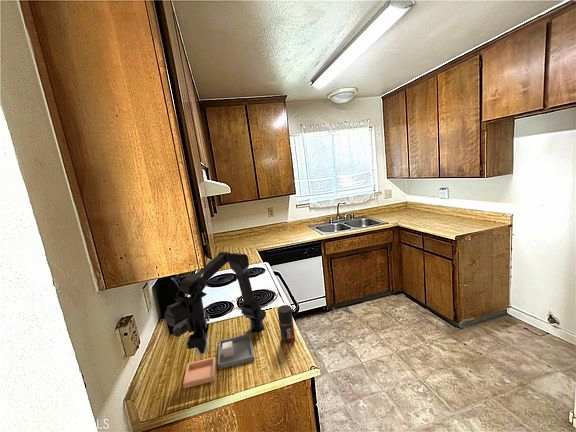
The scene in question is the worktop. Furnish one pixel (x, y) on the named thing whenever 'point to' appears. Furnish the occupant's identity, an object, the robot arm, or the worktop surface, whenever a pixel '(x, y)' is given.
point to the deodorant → (286, 324)
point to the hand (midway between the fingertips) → (202, 349)
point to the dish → (200, 372)
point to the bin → (236, 351)
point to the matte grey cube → (204, 350)
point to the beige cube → (228, 349)
